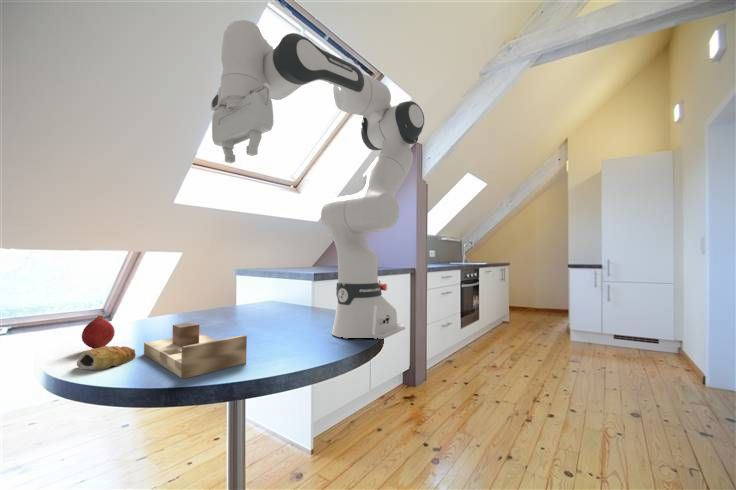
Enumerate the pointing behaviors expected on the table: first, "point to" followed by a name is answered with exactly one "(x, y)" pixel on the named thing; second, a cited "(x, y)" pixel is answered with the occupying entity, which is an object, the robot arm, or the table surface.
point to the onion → (98, 333)
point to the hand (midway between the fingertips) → (240, 158)
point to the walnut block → (185, 334)
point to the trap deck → (198, 355)
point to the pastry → (105, 357)
